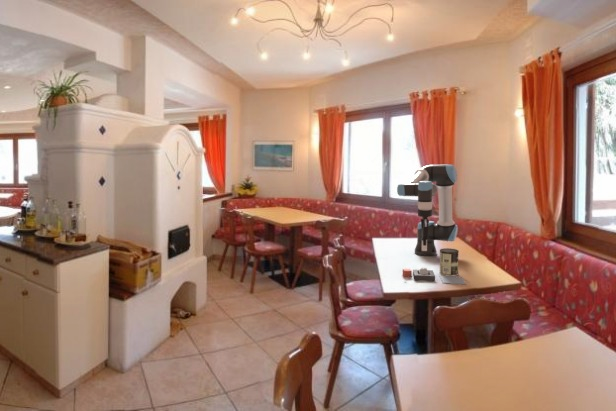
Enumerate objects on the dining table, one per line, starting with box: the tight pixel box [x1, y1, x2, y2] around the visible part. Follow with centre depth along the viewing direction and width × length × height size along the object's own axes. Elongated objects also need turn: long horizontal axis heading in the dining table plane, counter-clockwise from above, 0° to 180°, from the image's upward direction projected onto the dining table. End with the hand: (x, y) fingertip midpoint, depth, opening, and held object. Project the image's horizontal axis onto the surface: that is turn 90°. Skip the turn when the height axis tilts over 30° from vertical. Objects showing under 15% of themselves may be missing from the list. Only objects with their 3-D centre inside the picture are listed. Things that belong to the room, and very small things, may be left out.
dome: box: [419, 267, 429, 275], centre depth 201 cm, size 5×5×5 cm
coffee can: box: [439, 247, 460, 277], centre depth 208 cm, size 10×10×14 cm
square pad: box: [438, 275, 467, 285], centre depth 196 cm, size 12×12×1 cm
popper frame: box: [412, 269, 436, 282], centre depth 201 cm, size 11×11×3 cm
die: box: [402, 268, 413, 279], centre depth 205 cm, size 4×4×4 cm
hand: (424, 250), depth 200 cm, fingers closed
